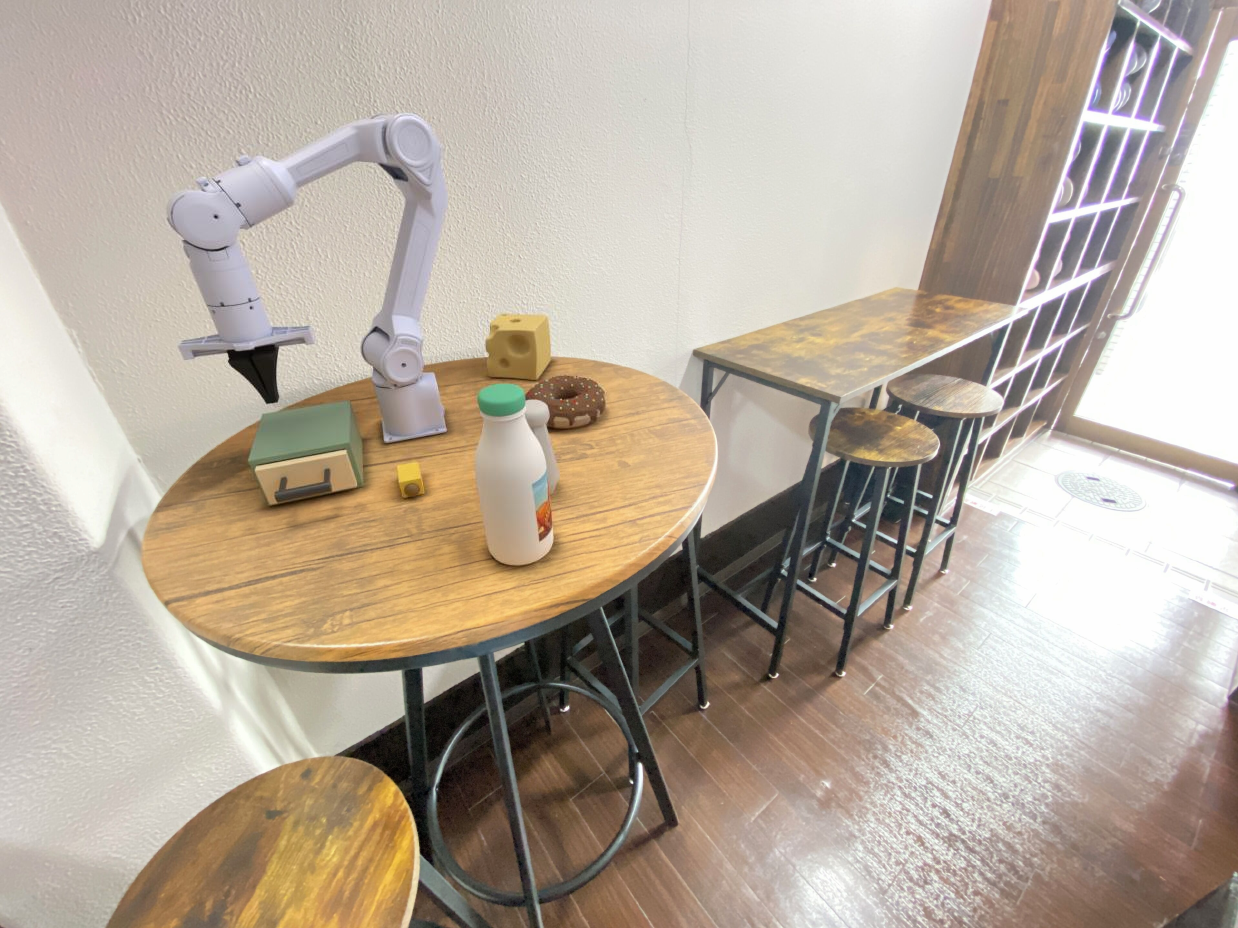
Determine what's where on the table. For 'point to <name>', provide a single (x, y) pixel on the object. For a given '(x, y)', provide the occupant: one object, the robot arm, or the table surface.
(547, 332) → the cheese
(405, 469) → the yellow knobbed cube
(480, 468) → the milk bottle
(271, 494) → the drawer
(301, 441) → the cabinet
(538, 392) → the donut
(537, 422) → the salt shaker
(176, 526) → the table surface
